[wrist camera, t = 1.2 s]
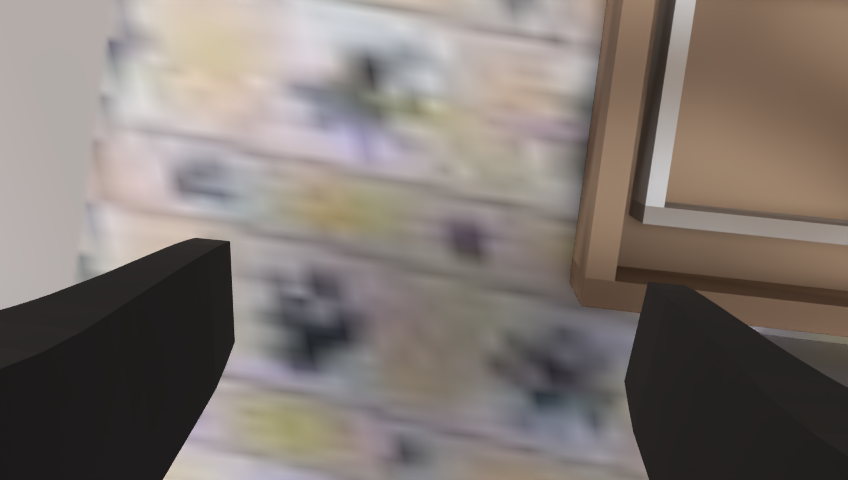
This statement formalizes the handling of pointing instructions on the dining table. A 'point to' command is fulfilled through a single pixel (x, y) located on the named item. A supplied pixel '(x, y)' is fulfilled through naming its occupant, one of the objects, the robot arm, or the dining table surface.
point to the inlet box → (720, 160)
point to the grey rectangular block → (818, 355)
